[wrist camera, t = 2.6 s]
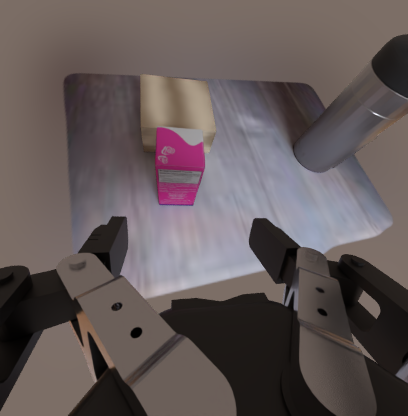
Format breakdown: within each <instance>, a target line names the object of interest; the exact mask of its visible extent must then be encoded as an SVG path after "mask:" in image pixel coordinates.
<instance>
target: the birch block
mask: <svg viewBox="0 0 408 416" xmlns="http://www.w3.org/2000/svg"><path fill="white" fill-rule="evenodd" d="M157 126H164V127H174V128H185V129H201V130H202V131H203V143H204V153H209V151H210V148H211V145H212V142H213V140H214V137H215V134H216V127H215V121H214V116H213V111H212V105H211V100H210V94H209V89H208V84H207V82H206V81H197V80H188V79H180V78H171V77H162V76H153V75H144V74H141V133H142V140H143V147H144V152H156V130H157Z"/></svg>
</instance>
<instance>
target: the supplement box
mask: <svg viewBox="0 0 408 416" xmlns="http://www.w3.org/2000/svg"><path fill="white" fill-rule="evenodd" d="M155 168H156V178H157V188H158V198H159V205H193V204H194V200H195V197H196V194H197V191H198V188H199V185H200V182H201V179H202V175H203V172H204V169H205V156H204V143H203V131H202V130H201V129H185V128H174V127H164V126H157V130H156V154H155Z"/></svg>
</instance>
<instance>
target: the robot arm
mask: <svg viewBox="0 0 408 416" xmlns="http://www.w3.org/2000/svg"><path fill="white" fill-rule="evenodd" d="M406 114H408V34H407V35H400V36H396V37H394V38H393V39H391V40H390V41H389V42H388V43H386V44H385V45H384V47H383V48H382V49H381V50H380V51H379V52H378V53H377V54H376V55H375V56H374V57H373V59H372V60H371V61H370V62H369V63H368V64H367V65H366V66H365V67H364V68H363V69H362V71H361V72H360V73H359V74H358V75H357V76H356V77H355V78H354V79H353V80H352V82H351V83H350V84H349V85H348V86H347V87H346V88H345V89H344V90H343V91H342V92H341V94H340V95H339V96H338V97H337V98H336V99H335V100H334V101H333V102H332V103H331V104H330V106H329V107H328V108H327V109H326V110H325V111H324V112H323V113H322V114H321V115H320V116H319V118H318V119H317V120H316V121H315V122H314V123H313V124H312V125H311V126H310V127H309V128H308V130H307V131H306V132H305V133H304V134H303V135H302V136H301V137H300V138H299V139H298V140H297V142H296V143H295V145H294V153H295V156H296V158H297V159H298V161H299V162H300V163H301V164H302V165H303V166H304V167H306V168H307V169H309V170H311V171H314V172H320V173H321V172H325V171H327V170H329V169H330V168H334V167H336V166H337V165H339V164H340V163H342V162H343V161H344V160H346V159H347V158H349V157H350V156H352V155H353V154H354V153H356V152H357V151H359V150H360V149H361V148H363V147H364V146H366V145H367V144H369V143H370V142H372V141H373V140H374V139H376V138H377V135H378V134H379V133H381V132H382V131H384V130H385V129H387V128H388V127H389V126H391V125H392V124H394V123H395V122H396V121H398V120H399V119H401V118H402V117H403V116H405V115H406ZM249 245H250V248H251V249H252V251H253V252H254V254H255V255H256V257H257V258H258V259H259V261H260V262H261V264H262V265H263V266H264V268H265V269H266V271H267V272H268V273H269V275H270V276H271V278H272V279H273V281H274V282H275V283H276V284H281V283H285V284H286V286H285V289H284V295H283V303H282V304H281V303H278V302H274V301H269V300H268V299H267V297H266V295H265V293H255V294H243V295H240V296H237V297H234V298H231V299H228V300H225V301H214V300H207V299H198V298H191V299H178V300H172V303H171V309H168V310H166V311H163V312H161V313H160V314H158V313H157V312H156V311H155V310H154V309H153V308H152V307H151V306H150V305H149V304H148V302H147V301H146V300H145V299H144V298H143V297H142V296H141V295H140V294H139V292H138V291H137V290H136V289H135V288H134V287H133V286H132V285H131V284H130V283H129V282H128V280H127V279H126V278H125V277H124V276H122V275H120V272H121V269H122V266H123V263H124V259H125V256H126V253H127V249H128V229H127V218H126V217H114V216H112V217H111V219H110V221H109V222H108V224H107V225H100V226H99V227H97V228H96V229H94V231H93V232H92V233H91V236H89V238H88V240H87V241H86V242H85V243H84V245H83V246H82V248H81V249H80V251H79V252H78V254H74V255H71V256H69V257H66V258H65V259H63V260H62V261H60V262H59V263H58V265H57V267H56V269H55V270H51V271H47V272H42V273H38V274H33V275H30V272H29V269H28V268H27V267H25V266H10V267H4V268H1V269H0V411H1V409H2V407H3V405H4V403H5V401H6V400H7V398H8V396H9V394H10V392H11V390H12V388H13V386H14V385H15V383H16V381H17V379H18V377H19V375H20V373H21V371H22V370H23V368H24V366H25V364H26V362H27V360H28V358H29V356H30V355H31V353H32V350H33V348H34V347H35V345H36V343H37V341H38V339H39V338H40V336H41V334H42V332H43V330H44V329H47V328H50V327H53V326H56V325H59V324H62V323H65V322H68V321H69V323H70V326H71V328H72V330H73V332H74V334H75V337H76V339H77V341H78V343H79V345H80V347H81V349H82V351H83V354H84V356H85V358H86V361H87V364H88V367H89V370H90V373H91V376H92V378H93V380H94V383H95V384H94V385H93V386H92V388H91V389H90V390H89V391H88V392H87V393H86V395H85V396H84V397H83V398H82V400H81V401H80V402H79V403H78V404H77V405H76V407H75V408H74V409H73V410H72V411H71V412H70V414H69V415H68V416H408V290H407V289H406V288H404V287H403V286H401V285H400V284H399V283H397V282H396V281H394V280H393V279H391V278H390V277H389V276H387V275H386V274H384V273H383V272H381V271H380V270H378V269H377V268H376V267H374V266H373V265H371V264H370V263H369V262H367V261H365V260H364V259H362V258H359V257H357V256H353V255H348V254H344V255H342V256H341V258H340V260H339V262H335V261H329V260H327V259H326V257H325V256H324V255H323V254H322V253H320V252H319V251H316V250H314V249H311V248H307V247H300V246H299V245H298V244H297V243H296V242H295V241H294V240H292V239H291V238H290V237H289V236H288V235H287V234H286V233H284V232H283V231H282V230H281V229H279V228H278V227H276V226H274V225H273V224H272V223H271V222H270V221H269V220H268V219H266V218H255V219H254V220H253V223H252V228H251V232H250V237H249ZM363 290H364V291H365V292H366V293H367V294H368V295H370V296H371V297H372V298H373V299H374V300H375V301H376V302H377V303H378V304H379V306H380V310H381V312H380V315H379V316H378V318H377V319H376V318H375V317H373V316H372V315H371V314H370V313H369V312H368V311H367V310H366V309H365V308H364V307H363V306H362V305H361V304H360V303H359V302H358V300H359V297H360V296H361V294H362V292H363ZM351 333H352V334H353V335H354V336H355V337H356V339H357V340H358V341H359V342H360V343H361V344H362V346H363V347H364V348H365V349H366V350H367V352H368V353H369V354H370V355H371V356H372V357H373V359H374V360H375V361H376V362H377V363H378V364H377V363H376V362H374V361H373V360H371V359H370V358H368V357H366V356H365V355H363V353H362V351H361V350H360V349H359V347H357V346H356V345H355V344H354V342H353V338H352V334H351Z"/></svg>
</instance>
